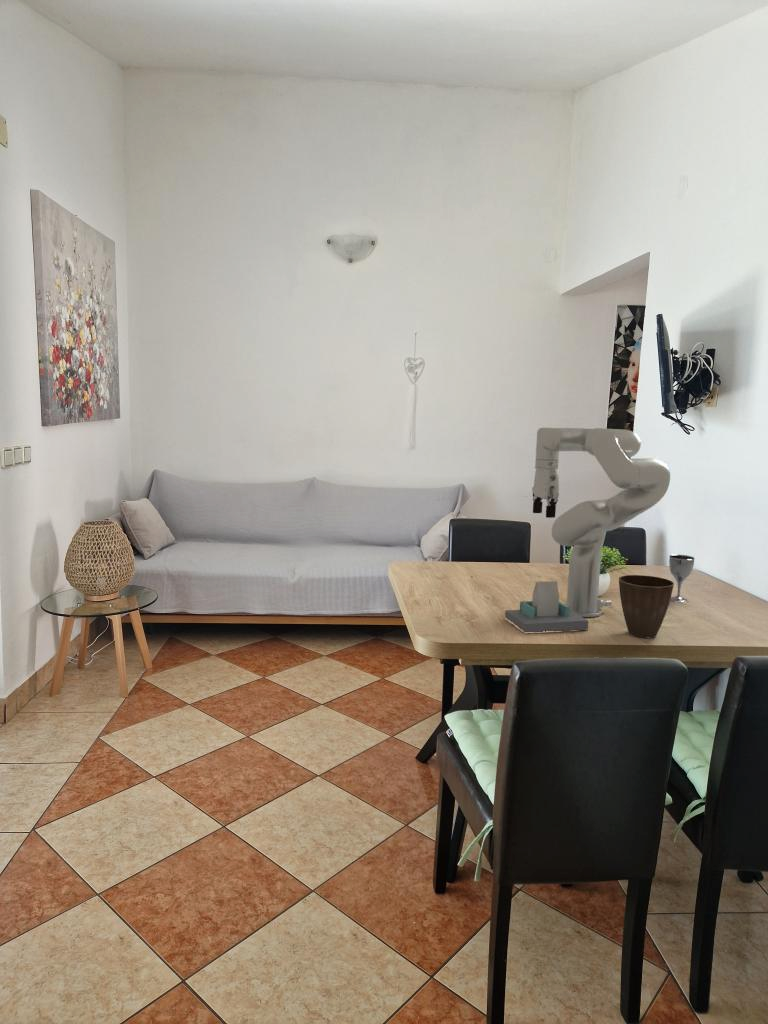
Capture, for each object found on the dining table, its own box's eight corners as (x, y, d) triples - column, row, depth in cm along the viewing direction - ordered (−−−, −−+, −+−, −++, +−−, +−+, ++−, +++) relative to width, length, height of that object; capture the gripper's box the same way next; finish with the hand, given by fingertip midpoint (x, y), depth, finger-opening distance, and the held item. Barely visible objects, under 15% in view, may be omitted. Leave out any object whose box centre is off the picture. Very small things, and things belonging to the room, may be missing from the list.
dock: (564, 616, 226) (565, 598, 225) (587, 630, 213) (589, 610, 212) (505, 619, 221) (505, 600, 220) (524, 634, 208) (525, 613, 207)
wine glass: (664, 600, 249) (668, 557, 247) (667, 595, 256) (670, 553, 254) (689, 603, 246) (693, 560, 243) (691, 598, 253) (695, 556, 250)
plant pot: (605, 633, 210) (609, 579, 208) (629, 623, 221) (633, 572, 219) (655, 646, 200) (659, 589, 198) (678, 635, 210) (682, 581, 208)
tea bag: (557, 615, 217) (559, 582, 215) (536, 616, 215) (538, 583, 214) (552, 612, 220) (554, 579, 219) (531, 613, 219) (533, 580, 217)
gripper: (569, 467, 236) (566, 519, 238) (545, 462, 252) (542, 511, 255) (548, 467, 234) (545, 519, 237) (525, 462, 251) (522, 511, 253)
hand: (543, 515), depth 246 cm, fingers open, 9 cm apart
